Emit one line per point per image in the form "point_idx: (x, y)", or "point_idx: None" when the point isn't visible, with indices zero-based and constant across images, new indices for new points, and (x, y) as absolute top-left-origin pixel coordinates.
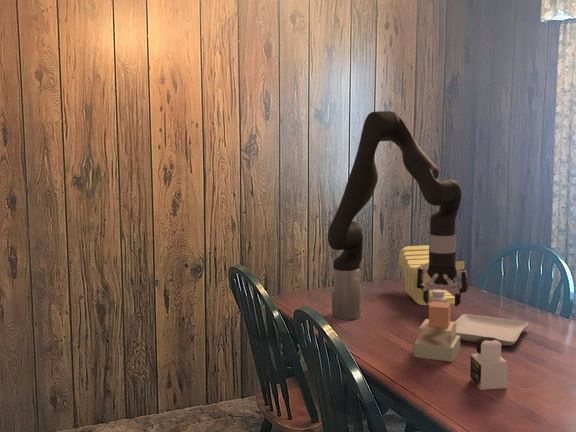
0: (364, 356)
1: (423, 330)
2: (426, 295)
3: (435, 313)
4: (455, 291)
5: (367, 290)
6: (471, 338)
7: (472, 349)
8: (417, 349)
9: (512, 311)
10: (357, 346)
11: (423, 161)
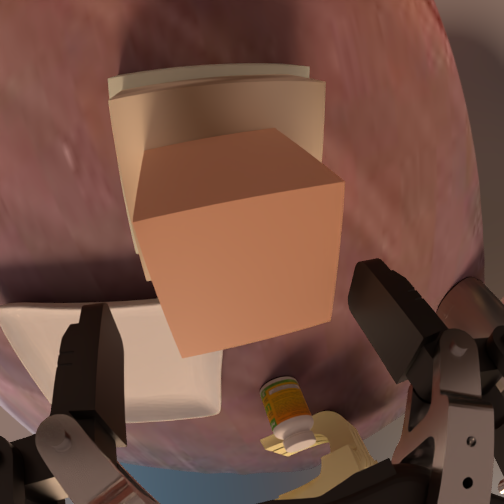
0: (430, 33)
1: (292, 80)
2: (408, 306)
3: (256, 166)
4: (86, 443)
5: (404, 400)
6: (127, 301)
7: (98, 239)
8: (283, 64)
9: (149, 451)
10: (455, 115)
11: None
